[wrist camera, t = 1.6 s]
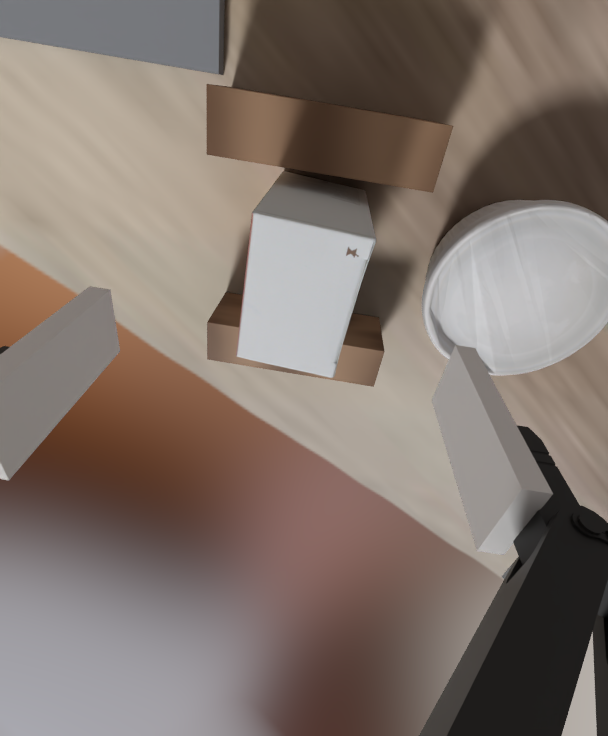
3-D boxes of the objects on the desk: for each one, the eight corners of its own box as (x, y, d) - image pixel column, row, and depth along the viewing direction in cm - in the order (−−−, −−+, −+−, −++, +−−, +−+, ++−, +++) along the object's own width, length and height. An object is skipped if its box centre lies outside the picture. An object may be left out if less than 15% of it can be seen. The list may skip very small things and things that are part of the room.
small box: (283, 168, 25) (250, 205, 16) (367, 189, 25) (379, 235, 17) (265, 283, 30) (232, 359, 21) (336, 300, 30) (333, 381, 21)
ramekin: (380, 282, 29) (386, 315, 25) (508, 142, 23) (545, 152, 19) (483, 362, 32) (504, 404, 28) (617, 256, 26) (671, 287, 22)
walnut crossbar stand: (433, 121, 23) (453, 126, 19) (369, 349, 32) (373, 386, 28) (231, 87, 23) (206, 84, 19) (225, 325, 32) (207, 359, 28)
